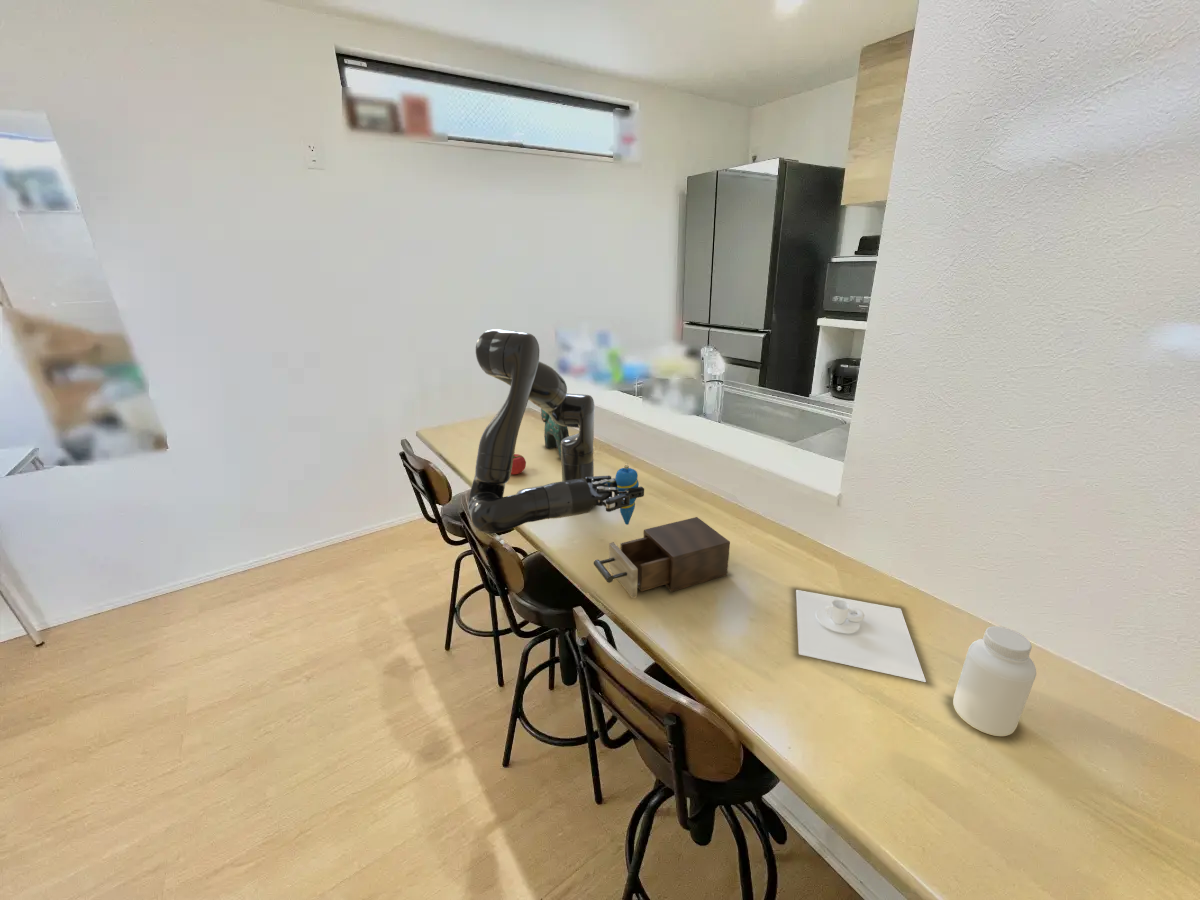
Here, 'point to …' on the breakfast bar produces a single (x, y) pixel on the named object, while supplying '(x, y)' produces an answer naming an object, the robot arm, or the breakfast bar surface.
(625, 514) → the ornament
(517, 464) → the tomato
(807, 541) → the breakfast bar surface
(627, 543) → the drawer
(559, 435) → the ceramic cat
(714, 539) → the cabinet
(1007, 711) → the pill bottle
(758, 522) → the breakfast bar surface
